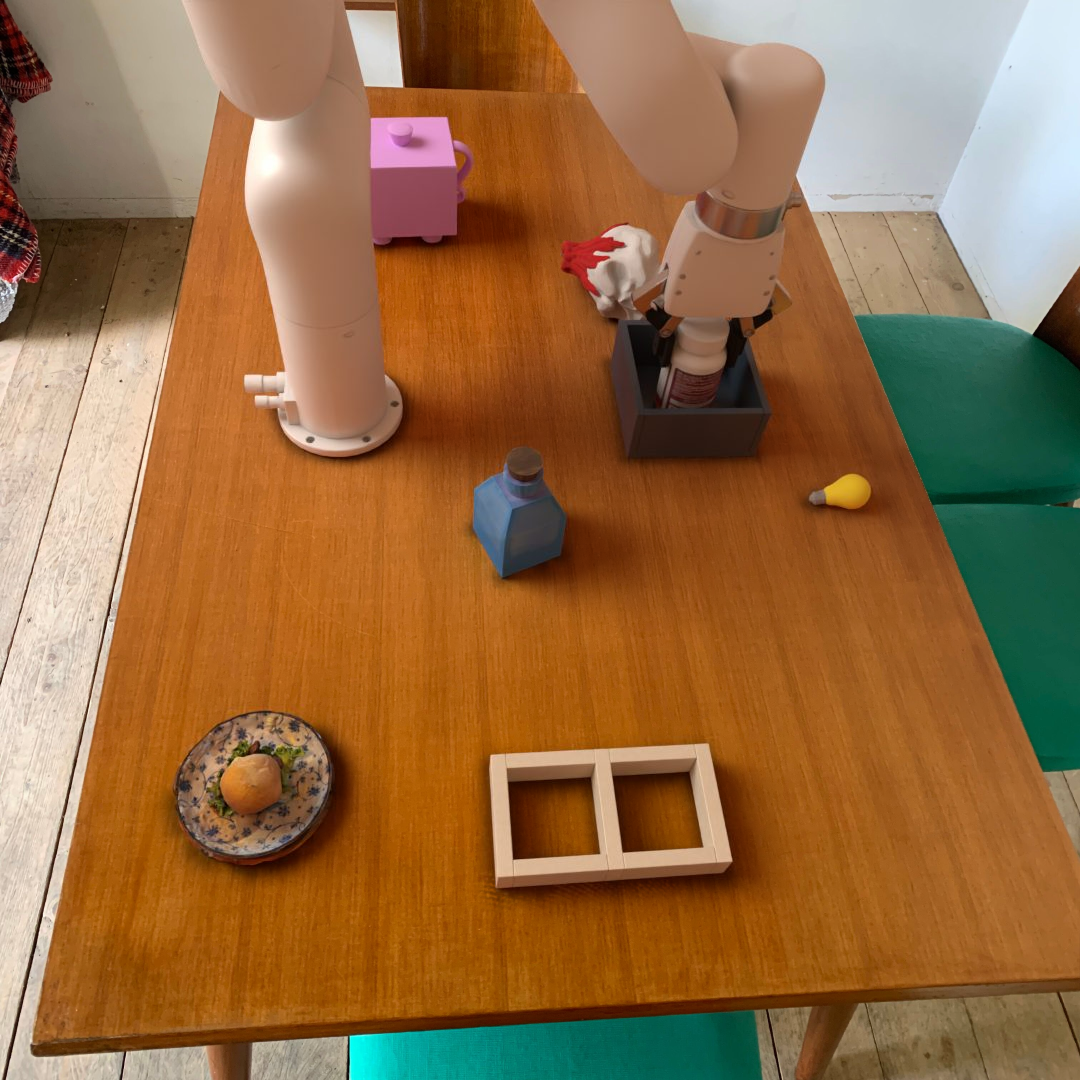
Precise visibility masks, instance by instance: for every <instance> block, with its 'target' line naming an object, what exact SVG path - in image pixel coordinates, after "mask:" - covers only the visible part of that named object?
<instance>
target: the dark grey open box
mask: <svg viewBox="0 0 1080 1080" xmlns="http://www.w3.org/2000/svg"><path fill="white" fill-rule="evenodd" d="M726 320H727V322H728V324H729V321H730V320H731V319H726ZM674 332H675V330H674ZM655 333H656V328H655V327H654V326H653V325H652V324H650V323H649V322H648V321H647V320H620V319H618V323H617V327H616V333H615V339H614V343H613V349H612V353H611V359H610V363H609V367H610V370H611V371H610V372H611V377H612V384H613V389H614V395H615V399H616V404H617V405H616V406H617V410H618V416H619V422H620V427H621V432H622V438H623V443H624V449H625V454H626V458H627V459H652V458H653V459H662V458H663V459H665V458H667V459H668V458H669V459H670V458H727V457H728V458H729V457H730V458H731V457H732V458H734V457H736V458H737V457H755V456H756V453H757V450H758V448H759V446H760V444H761V441H762V438H763V436H764V433H765V432H766V429H767V427H768V424H769V421H770V419H771V417H772V414H773V412H772V409H771V405H770V402H769V399H768V396H767V393H766V390H765V387H764V382H763V380H762V377H761V374H760V369H759V368H758V364H757V360H756V358H755V355H754V354H755V353H754V351H753V347H752V346H751V341H750V337H749V338H747V341H746V344H745V347H744V350H743V353H742V355H738V358H737V361H736V364H735V367H734V368H729V367H728V366H726V363H725V365H724V369H723V372H722V375H721V379H720V382H719V385H718V388H717V391H716V395H715V398H714V401H713V404H712V407H711V408H679V409H656V407H655V403H654V398H655V393H656V389H657V385H658V381H659V376H660V372H661V366H660V361H659V357H658V356H654V353H653V342H654V337H655Z"/></svg>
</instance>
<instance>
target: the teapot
mask: <svg viewBox="0 0 1080 1080" xmlns="http://www.w3.org/2000/svg"><path fill="white" fill-rule="evenodd" d="M455 152H457V153H459V154H462V155H463V156H464V157H465V161H464V163H463V164H462V166H461V168H460V169H459V170H458V164H457V158H456V153H455ZM370 156H371V174H370V199H371V226H372V236H373V244H376V245H380V246H383V245H388V244H389V243H391V241H392V240H393V238H406V237H409V238H410V237H421V239H422V240H423V241H424V242H426V243H428V244H429V243H430V244H435V243H439V242H440V241H441V240H442V238H443V236H457V235H458V204H460V203H463V202H464V200H465V199H466V196H467V191H466V188H465V186H463V185H462V183H463V182H464V181H465V180H466V178H467V177H468V176H469V174H470V173H471V171H472V169H473V167H474V161H475V160H474V155H473V152H472V150H471V149H470V148H469V146H468V145H467V144H465V143H463V142H462V141H459V140H454V139H452V133H451V128H450V123H449V118H448V117H447V116H427V117H426V116H422V117H421V116H420V117H419V116H418V117H416V116H415V117H414V116H413V117H412V116H411V117H410V116H409V117H408V116H407V117H371V152H370ZM458 192H459V193H458Z"/></svg>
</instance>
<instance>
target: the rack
mask: <svg viewBox="0 0 1080 1080" xmlns="http://www.w3.org/2000/svg"><path fill="white" fill-rule="evenodd" d="M711 752H712V751H711V748H710V743H708V742H707V743H695V744H694V743H690V744H673V745H672V744H671V745H651V746H632V747H631V746H630V747H617V748H615V747H614V748H594V749H572V750H554V751H553V750H552V751H534V752H517V753H516V752H515V753H495V754H490V757H489V768H488V769H489V770H488V771H489V788H490V801H491V802H490V804H491V821H492V822H491V823H492V824H491V825H492V840H493V842H492V843H493V855H494V856H493V857H494V859H493V860H494V877H495V888H496V889H505V888H506V889H507V888H519V887H520V888H521V887H535V886H550V885H564V884H566V885H567V884H577V883H578V884H579V883H595V882H607V881H619V880H620V881H623V880H637V879H651V878H666V877H667V878H668V877H679V876H680V877H682V876H696V875H710V874H711V875H712V874H723V873H724V872H725V871H726V870H727V869H728V868H729V867H730V865H731V864H733V857H732V852H731V846H730V842H729V836H728V832H727V828H726V821H725V817H724V813H723V812H724V811H723V807H722V803H721V802H722V801H721V798H720V792H719V788H718V787H719V786H718V782H717V778H716V777H717V776H716V773H715V767H714V762H713V758H712V753H711ZM688 772H689V778H690V782H691V788H692V795H693V798H694V804H695V810H696V816H697V820H698V821H697V822H698V825H699V831H700V837H701V842H702V847H692V848H676V849H662V850H646V851H645V850H644V851H631V852H629V851H628V852H623V846H622V844H623V843H622V837H621V831H620V830H621V829H620V823H619V816H618V809H617V808H618V807H617V801H616V800H617V799H616V793H615V786H614V779H613V777H616V776H635V775H637V776H638V775H650V774H651V775H653V774H672V773H673V774H674V773H688ZM581 778H584V779H585V778H590V781H591V790H592V796H593V805H594V813H595V814H594V815H595V821H596V822H595V823H596V829H597V830H596V831H597V837H598V846H599V854H585V855H569V856H567V855H566V856H553V857H552V856H551V857H539V858H536V857H535V858H523V859H522V858H521V859H514V854H513V839H512V838H513V837H512V826H511V825H512V822H511V811H510V795H509V783H510V782H528V781H545V780H547V781H548V780H564V779H581ZM589 878H590V879H589Z"/></svg>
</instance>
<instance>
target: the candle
mask: <svg viewBox="0 0 1080 1080" xmlns="http://www.w3.org/2000/svg"><path fill="white" fill-rule="evenodd" d="M560 252H561V254H560V257H563V259H562V261H561V265H560V270H561V271H562V272H563V273H565V274H570V275H574V276H575V277H576V278H578V280H579V281H580V282H581V284H582V286H583V288H584V289H585V290H586V291H588V293H589V295H590V296H591V297H592V299H593V300H594V301H595V303H596V308H597V310H598V312H599V314H600V315H601V316H602V317H603V318H605V319H607V318H609V319H610V318H612V319H613V318H614V319H617V320H647V319H646V317H645V316H644V315H642V314H641V313H640V312H639V311H638V310H637V309H636V308H635V307H634V306H633V303H632V299H631V293H632V292H633V291H635V290H636V289H638V288H639V287H641V286H642V285H644V284H645V283H646V282H648V281H649V280H651V279H652V278H654V277H655V276H657V275H658V274H659V271H660V267H661V263H660V259H659V258H660V257H659V255H660V245H659V242H658V241H657V239H656V238H655V236H654V235H652V234H651V232H649V231H647V230H646V229H644V228H638V227H635V226H632V225H630V224H629V222H622V223H616V224H614V225H611V226H609V227H607V228H606V229H605V230H603V231H602V232H601V233H600V234H599V235H597V236H595V237H593V238H591V239H589V240H586V241H581V242H578V241H577V242H576V241H571V240H567V239H566V240H564V241H563V243H562V245H561V248H560ZM652 301H654V302H655V303H656V304H657V305H658V306H659V307H661V305H662V304H663V303H664V293H663V294H661V295H660V296H658V297H657V298H655V299H654V300H652Z"/></svg>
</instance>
